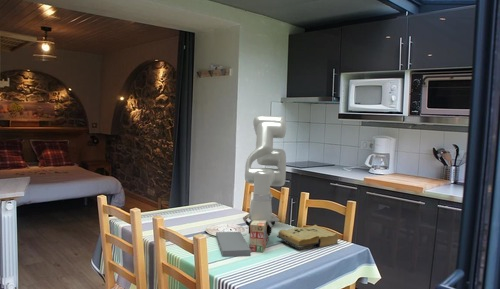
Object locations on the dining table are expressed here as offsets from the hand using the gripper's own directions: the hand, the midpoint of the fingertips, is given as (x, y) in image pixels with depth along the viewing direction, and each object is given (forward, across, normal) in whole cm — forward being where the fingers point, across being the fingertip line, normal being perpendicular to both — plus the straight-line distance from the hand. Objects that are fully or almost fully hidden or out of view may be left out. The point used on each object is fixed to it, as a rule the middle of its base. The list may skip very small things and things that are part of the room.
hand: (259, 234), depth 177 cm
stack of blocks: (+5, 0, -1) cm, 5 cm away
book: (+5, -24, -1) cm, 25 cm away
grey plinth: (+5, +13, +1) cm, 14 cm away
